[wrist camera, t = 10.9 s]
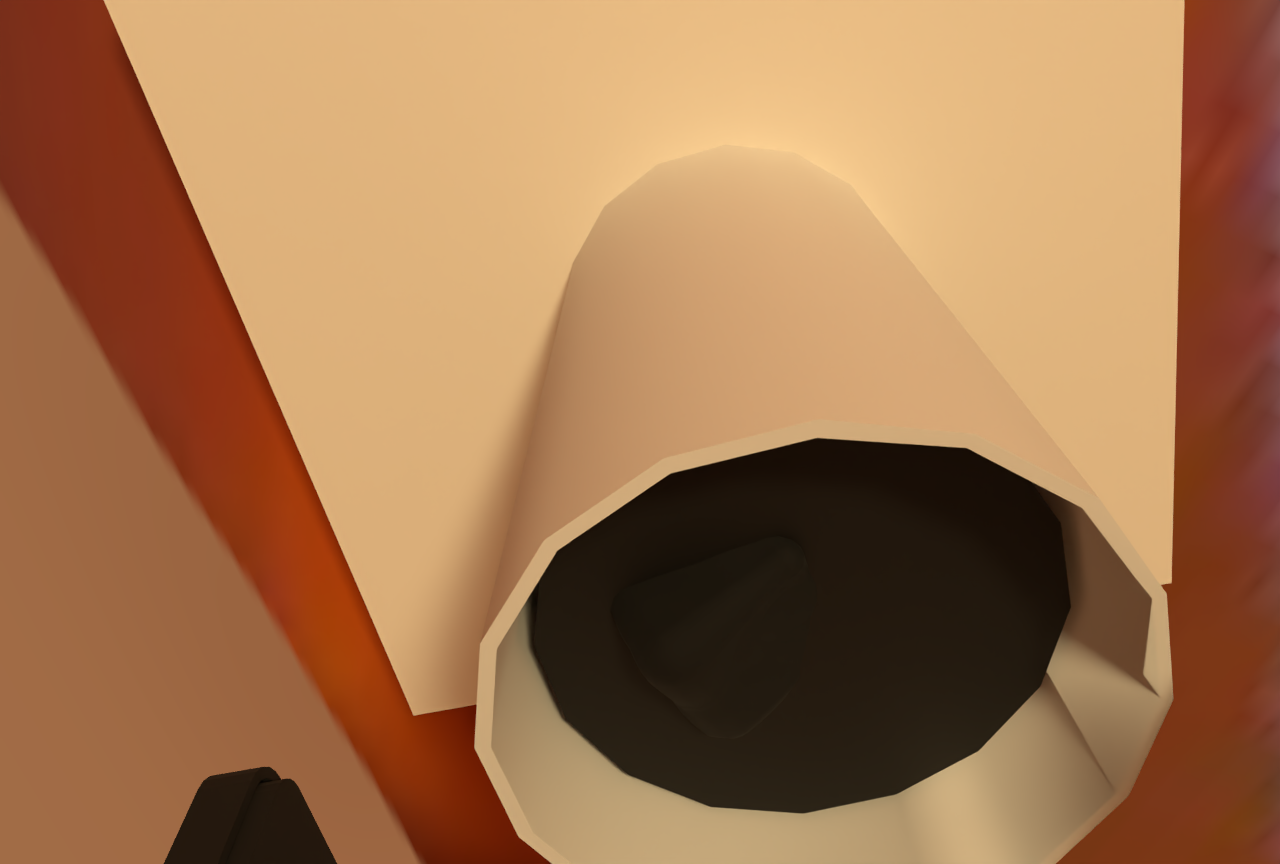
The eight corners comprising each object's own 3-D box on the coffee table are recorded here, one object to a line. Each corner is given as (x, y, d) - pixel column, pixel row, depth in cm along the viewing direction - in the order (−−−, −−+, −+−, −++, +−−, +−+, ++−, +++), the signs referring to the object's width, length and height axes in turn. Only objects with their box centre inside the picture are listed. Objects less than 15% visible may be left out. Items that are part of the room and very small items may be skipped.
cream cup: (649, 524, 21) (665, 1013, 13) (468, 231, 18) (327, 607, 10) (976, 381, 20) (1246, 824, 11) (836, 40, 17) (1057, 282, 8)
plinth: (1123, 514, 24) (1171, 583, 22) (431, 639, 26) (413, 715, 24) (1118, -344, 17) (1191, -367, 15) (135, -93, 18) (69, -79, 16)
